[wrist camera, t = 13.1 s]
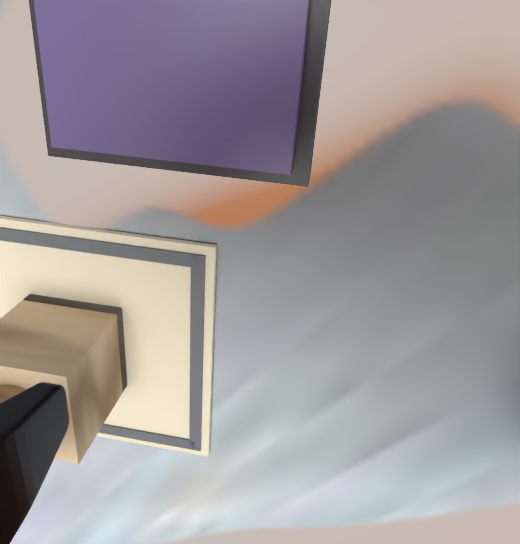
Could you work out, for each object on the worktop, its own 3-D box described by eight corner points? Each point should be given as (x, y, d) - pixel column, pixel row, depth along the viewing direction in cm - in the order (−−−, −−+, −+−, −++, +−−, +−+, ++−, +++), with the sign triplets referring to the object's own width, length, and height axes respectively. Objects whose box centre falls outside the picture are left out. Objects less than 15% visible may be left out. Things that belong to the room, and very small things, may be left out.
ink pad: (338, -57, 15) (336, -66, 14) (309, 179, 19) (305, 192, 17) (36, -76, 17) (5, -86, 15) (61, 149, 20) (38, 160, 18)
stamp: (127, 384, 25) (63, 488, 19) (42, 370, 25) (-44, 467, 20) (122, 307, 23) (48, 398, 17) (29, 293, 23) (-70, 377, 18)
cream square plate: (217, 244, 21) (214, 249, 20) (209, 452, 26) (207, 458, 26) (-67, 206, 22) (-74, 209, 22) (-18, 410, 28) (-23, 415, 27)
